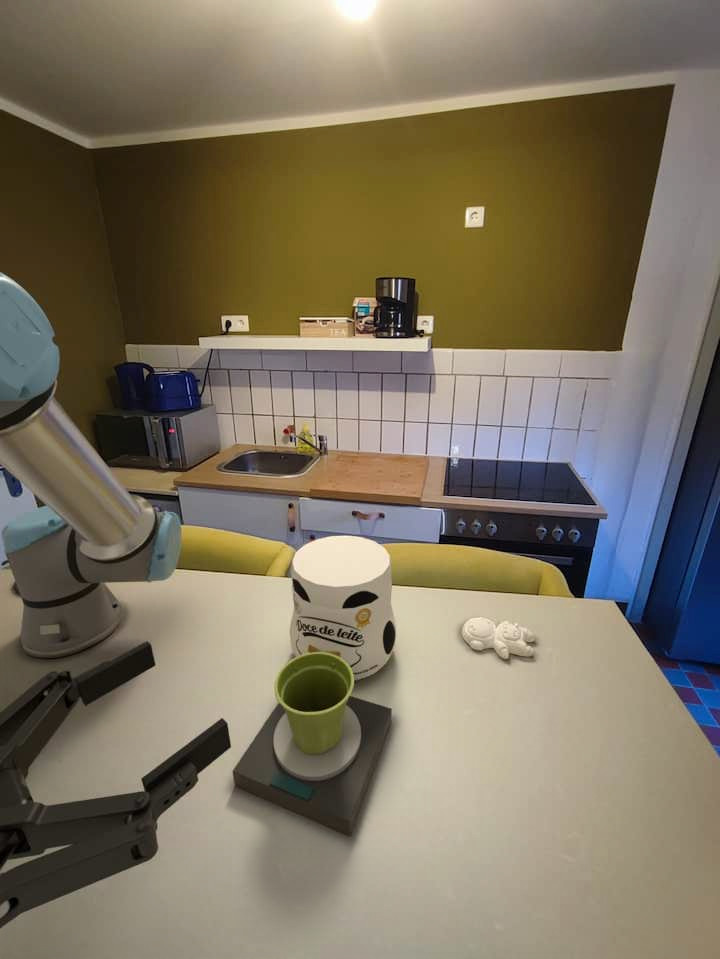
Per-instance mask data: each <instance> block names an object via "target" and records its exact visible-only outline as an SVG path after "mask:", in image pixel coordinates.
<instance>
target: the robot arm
mask: <svg viewBox="0 0 720 959" xmlns="http://www.w3.org/2000/svg"><path fill="white" fill-rule="evenodd" d="M55 336H56V334H55V332H54V329H53V327H52V325H51V323H50V320H49V319H48V317H47V315H46V313H45V312H44V310H43V309H42V308H41V306H40V305H39V304H38V303H37V301H36V300H35V299H34V298H33V297H32V295H31V294H30V293H29V292H28V291H27V290H26V289H25V288H23V287H22V286H21V285H20V284H19V283H18V282H16V281H15V280H14V279H12V278H11V277H9V276H7V275H6V274H4V273H3V272H0V465H1V466H2V467H3V468H4V469H5V470H7V471H8V472H9V473H10V474H11V475H12V476H14V478H16V479H17V480H18V481H19V482H20V483H21V484H22V485H24V486H25V487H26V488H27V489H28V490H29V491H30V492H31V493H32V494H34V496H36V497H37V498H38V499H39V500H40V501H41V502H42V503H44V506H41V507H37V508H34V509H32V510H29V511H27V512H24V513H23V514H20V515H19V516H16V517H15V518H13V519H12V520H10V521H8V522H7V523H6V524H5V526H4V527H3V529H2V530H1V538H2V542H3V548H4V550H3V552H4V555H5V557H6V560H3V561H2V562H1V566H5V565H7V564H9V567H10V570H11V573H12V575H13V577H14V583H13V588H14V590H15V591H16V592H17V593H19V595H20V597H21V600H22V601H21V602H22V604H23V610H22V618H21V629H20V642H21V646H22V648H23V650H24V652H25V653H26V654H28V656H31V657H33V658H39V659H54V658H61V657H66V656H70V655H73V654H77V653H79V652H82V651H84V650H86V649H89V648H90V647H93V646H95V645H96V644H98V643H100V642H102V641H103V640H105V639H106V638H107V637H109V636H110V635H111V634H112V633H113V632H114V631H115V630H116V629H117V628H118V626H119V625H120V623H121V621H122V619H123V610H122V606H121V604H120V602H119V600H118V598H117V597H116V595H115V594H114V593H113V592H112V591H111V590H110V588H109V587H108V585H107V583H108V584H110V583H152V582H160V581H161V582H162V581H165V580H168V579H169V578H170V577H172V575H173V573H174V572H175V571H176V568H177V566H178V563H179V559H180V554H181V550H182V549H181V548H182V523H181V520H180V517H179V515H178V514H177V513H175V512H173V511H168V510H164V511H156V510H155V508H154V507H153V506H152V504H151V503H150V502H149V501H148V500H147V499H146V498H144V497H142V496H141V495H137V494H133V493H129V491H128V490H127V489H126V488H125V487H124V486H123V484H122V483H121V481H120V480H119V479H118V477H117V476H116V475H115V473H114V472H113V471H112V470H111V469H110V467H109V466H108V465H107V464H106V462H105V461H104V460H103V458H102V457H101V456H100V454H99V453H98V452H97V451H96V449H95V448H94V446H93V445H92V444H91V443H90V442H89V440H88V438H86V436H85V435H84V433H83V432H82V431H81V430H80V429H79V428H78V426H77V425H76V423H75V422H74V421H73V420H72V419H71V417H70V416H69V415H68V413H67V412H66V411H65V409H64V408H63V406H62V405H61V404H60V403H59V401H57V399H56V398H55V397H54V395H55V393H56V390H57V385H58V381H57V377H58V374H59V370H60V348H59V347H58V345H56V344H55V343H54V341H53V338H54V337H55ZM156 665H157V664H156V661H155V656H154V652H153V647H152V644H151V643H150V642H149V641H148V640H147V641H144V642H142V643H141V644H139V645H137V646H135V647H134V648H132V649H130V650H128V651H126V652H124V653H122V654H121V655H118V656H117V657H114V658H112V659H110V660H106V661H103V662H101V663H99V664H97V665H96V666H94V667H92V668H90V669H88V670H85V671H84V672H82V673H81V674H79V675H77V676H73V674H72V672H71V670H63V671H61V672H58V671H50V672H48V673H46V674H45V675H43V677H41V678H40V679H39V680H38V681H36V682H35V683H34V684H32V685H31V686H30V687H29V688H28V689H27V690H26V691H25V692H23V693H21V695H20V696H18V697H17V698H16V699H15V700H14V701H12V702H11V703H10V704H9V705H7V706H6V707H5V708H3V709H2V711H0V871H2V869H3V868H4V866H5V865H6V863H7V862H8V861H12V860H17V859H23V858H28V857H35V856H39V857H36V858H33V859H31V860H29V861H26V862H23V863H21V864H19V865H16V866H15V867H13V868H10V869H9V870H7V871H5V872H0V929H1V928H3V927H5V925H7V924H8V923H10V922H11V921H13V920H14V919H15V918H18V916H19V915H21V914H24V913H26V912H28V911H30V910H33V909H36V908H38V907H40V906H42V905H45V904H48V903H50V902H53V901H55V900H57V899H59V898H62V897H65V896H66V895H67V896H68V895H69V894H71V893H74V892H77V891H78V890H81V889H83V888H86V887H88V886H91V885H93V884H96V883H98V882H100V881H103V880H105V879H108V878H110V877H112V876H114V875H117V874H120V873H122V872H124V871H127V870H129V869H132V868H134V867H137V866H139V865H142V864H143V863H146V862H148V861H150V860H152V859H153V858H154V857H155V856H156V855H157V852H158V851H159V843H158V837H157V830H158V820H159V818H160V817H161V816H162V814H164V813H165V812H166V811H167V810H169V808H171V807H172V806H173V805H174V804H176V803H177V802H179V800H181V798H183V797H184V796H185V795H186V794H187V793H189V792H190V791H191V790H193V789H194V788H195V786H196V784H197V783H198V782H199V776H198V775H199V774H200V773H201V772H203V771H204V770H205V769H207V767H209V766H210V765H211V764H213V763H214V762H215V761H217V759H219V757H221V756H223V754H224V753H226V752H227V751H228V750H230V749H231V748H232V744H231V736H230V731H229V724H228V722H227V721H226V720H225V719H224V718H223V717H221V718H220V719H218V720H217V721H216V722H214V723H213V724H212V725H210V726H209V727H208V728H206V729H205V730H203V731H202V732H201V733H200V734H198V735H197V736H196V737H195V738H193V739H192V740H190V742H187V743H186V745H184V746H183V747H181V748H180V749H179V750H177V751H176V752H175V753H173V754H172V755H171V756H169V757H168V758H167V759H165V760H164V761H163V762H161V763H160V764H158V765H157V766H156V767H154V768H153V769H152V770H150V771H149V772H148V773H147V774H145V775H144V776H143V777H141V779H140V780H141V783H142V788H143V790H144V791H143V790H142V791H135V792H128V793H122V794H116V795H109V796H102V797H96V798H88V799H83V800H76V801H70V802H63V803H55V804H50V805H46V804H44V803H42V802H39V801H36V802H35V801H34V799H33V796H32V794H31V791H30V789H29V786H28V784H27V782H26V779H27V777H28V775H29V770H30V767H31V766H32V764H33V763H34V762H35V760H36V759H37V758H38V756H39V755H40V753H42V751H43V750H44V748H45V747H46V746H47V744H48V743H49V742H50V740H51V739H52V738H53V736H54V735H55V734H56V733H57V731H58V730H59V729H60V727H61V726H62V724H63V723H64V722H65V720H67V717H69V715H70V714H71V712H72V711H73V710H74V708H75V707H76V706H77V705H78V703H79V701H80V698H81V702H82V704H83V705H84V706H85V707H87V706H89V705H90V704H93V703H94V702H95V701H97V700H99V699H100V698H102V697H104V696H106V695H108V694H109V693H111V692H113V691H115V690H116V689H118V688H119V687H121V686H123V685H125V684H127V683H128V682H130V681H132V680H134V679H135V678H137V677H139V676H140V675H141V674H144V673H145V672H147V671H149V670H150V669H153V668H154V667H155V666H156ZM156 667H157V666H156ZM46 692H47V694H45V693H46ZM59 847H63V848H60V849H57V850H54V851H52V852H49V853H47V854H44V853H45V852H46V850H49V849H53V848H59ZM43 854H44V855H43ZM40 855H41V856H40Z"/></svg>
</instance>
